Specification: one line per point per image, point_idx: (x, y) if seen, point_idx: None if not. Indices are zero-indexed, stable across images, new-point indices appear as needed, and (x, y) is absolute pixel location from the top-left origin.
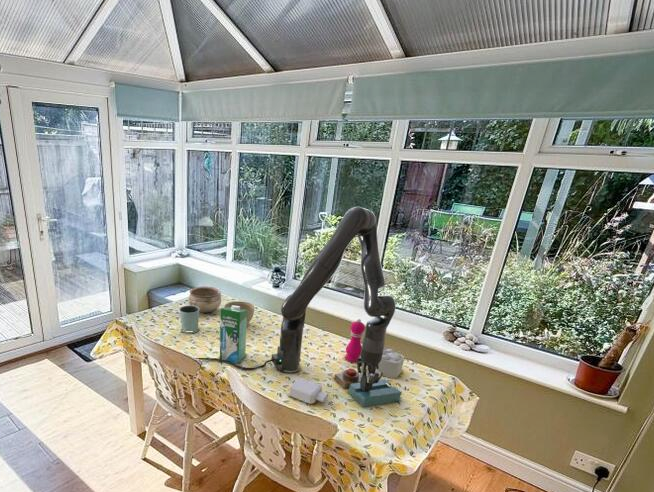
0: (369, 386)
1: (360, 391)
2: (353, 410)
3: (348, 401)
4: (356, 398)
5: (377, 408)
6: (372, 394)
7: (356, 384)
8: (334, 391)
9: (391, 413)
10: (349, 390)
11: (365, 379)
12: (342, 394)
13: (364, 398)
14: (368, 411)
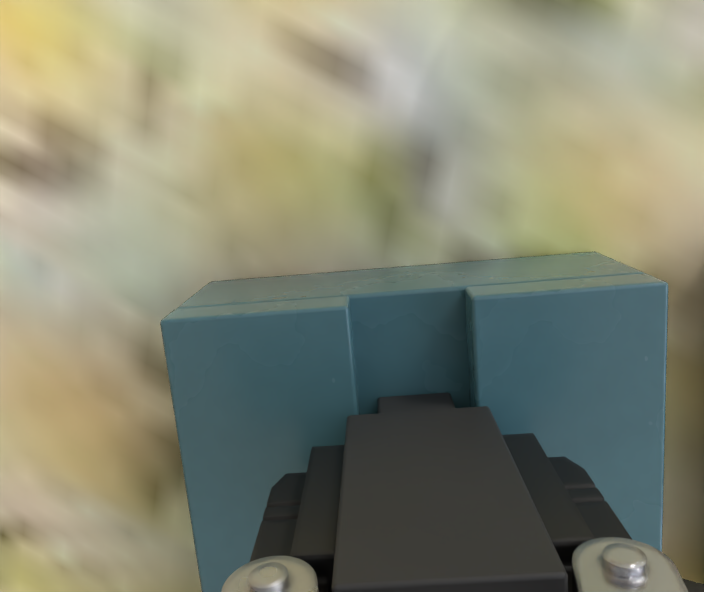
0: (257, 539)
1: (437, 376)
2: (145, 95)
3: (375, 132)
4: (387, 272)
5: (157, 450)
6: (247, 504)
7: (616, 396)
8: (688, 33)
9: (39, 557)
10: (600, 259)
11: (367, 570)
12: (573, 129)
13: (171, 316)
14: (103, 300)
